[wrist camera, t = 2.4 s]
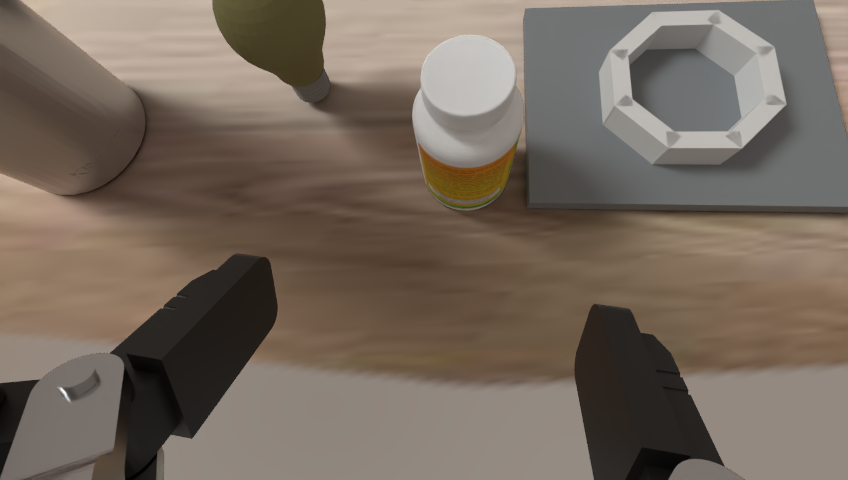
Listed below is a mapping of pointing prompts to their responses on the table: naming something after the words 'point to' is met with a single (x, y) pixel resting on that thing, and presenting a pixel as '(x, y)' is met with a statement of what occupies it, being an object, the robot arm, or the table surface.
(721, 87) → the collar plate
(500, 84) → the supplement bottle
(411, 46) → the table surface
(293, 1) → the light bulb
